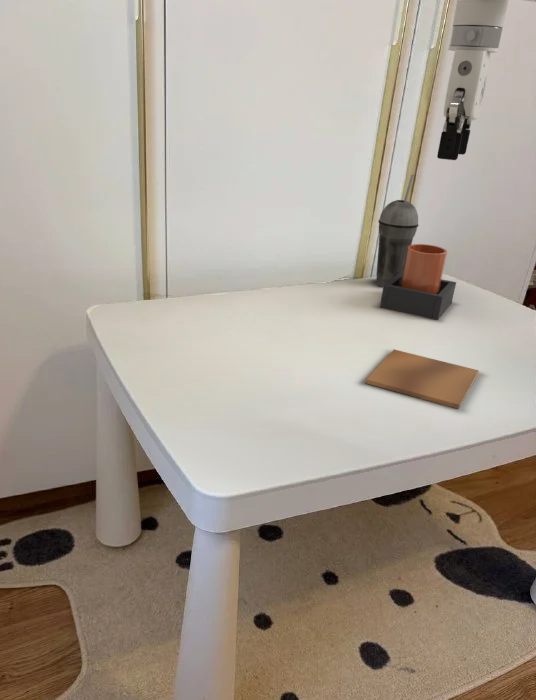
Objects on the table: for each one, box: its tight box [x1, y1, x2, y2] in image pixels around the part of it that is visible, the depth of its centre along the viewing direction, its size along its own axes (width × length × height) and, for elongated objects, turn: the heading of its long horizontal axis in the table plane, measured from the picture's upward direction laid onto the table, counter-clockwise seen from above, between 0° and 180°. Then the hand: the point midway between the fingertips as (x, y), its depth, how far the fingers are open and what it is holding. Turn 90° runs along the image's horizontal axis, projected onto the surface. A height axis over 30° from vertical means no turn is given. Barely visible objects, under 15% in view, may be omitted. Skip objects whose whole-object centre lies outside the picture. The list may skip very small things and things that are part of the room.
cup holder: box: [379, 272, 457, 321], centre depth 110 cm, size 10×10×4 cm
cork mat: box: [365, 349, 480, 410], centre depth 84 cm, size 12×12×1 cm
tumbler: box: [400, 243, 448, 294], centre depth 109 cm, size 6×6×10 cm
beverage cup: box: [375, 174, 419, 287], centre depth 117 cm, size 7×7×20 cm
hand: (451, 156), depth 108 cm, fingers open, 9 cm apart
